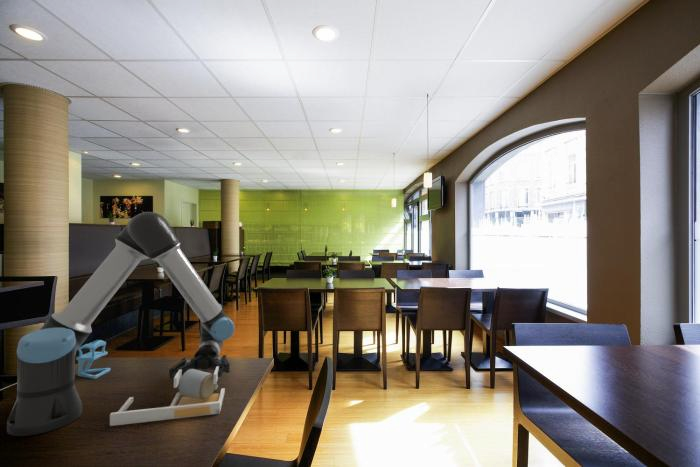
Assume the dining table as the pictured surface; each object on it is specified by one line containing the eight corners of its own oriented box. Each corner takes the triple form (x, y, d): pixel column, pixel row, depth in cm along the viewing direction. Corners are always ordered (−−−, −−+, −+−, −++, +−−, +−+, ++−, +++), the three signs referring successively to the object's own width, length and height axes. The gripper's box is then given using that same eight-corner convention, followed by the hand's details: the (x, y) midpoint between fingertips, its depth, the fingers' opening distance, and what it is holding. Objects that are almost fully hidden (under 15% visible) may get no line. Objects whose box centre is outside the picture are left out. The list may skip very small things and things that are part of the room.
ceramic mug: (200, 404, 98) (201, 377, 98) (177, 400, 100) (178, 373, 100) (224, 389, 108) (225, 364, 108) (203, 386, 110) (203, 361, 111)
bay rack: (109, 426, 90) (109, 415, 90) (129, 401, 104) (129, 391, 104) (219, 414, 97) (219, 403, 97) (224, 391, 111) (224, 382, 111)
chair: (89, 370, 128) (89, 337, 128) (111, 370, 128) (111, 337, 128) (71, 378, 120) (71, 344, 120) (94, 379, 120) (95, 344, 120)
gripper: (241, 362, 123) (236, 390, 101) (171, 368, 117) (151, 398, 96) (241, 341, 123) (236, 364, 101) (171, 346, 117) (151, 371, 96)
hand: (195, 381), depth 98 cm, fingers closed on ceramic mug, 10 cm apart
